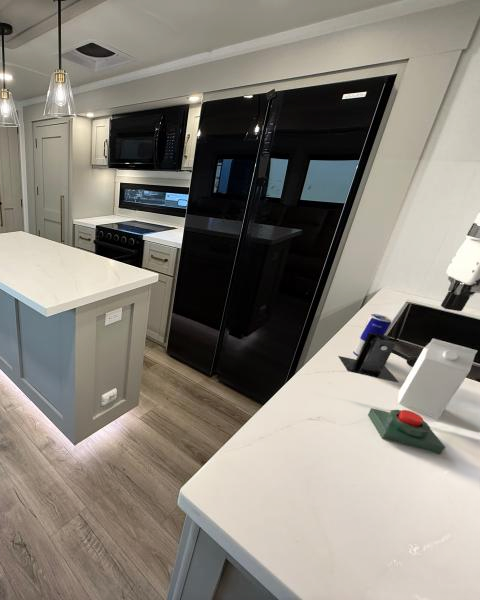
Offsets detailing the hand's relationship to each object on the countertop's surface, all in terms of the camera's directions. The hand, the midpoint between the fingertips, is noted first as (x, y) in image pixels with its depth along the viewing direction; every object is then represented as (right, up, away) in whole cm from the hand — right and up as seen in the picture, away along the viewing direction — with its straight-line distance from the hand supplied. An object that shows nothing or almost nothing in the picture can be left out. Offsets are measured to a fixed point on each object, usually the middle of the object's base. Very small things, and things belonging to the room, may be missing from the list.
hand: (450, 308), depth 76 cm
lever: (-1, -14, +14) cm, 20 cm away
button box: (-17, -29, -5) cm, 34 cm away
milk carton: (-5, -26, +4) cm, 27 cm away
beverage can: (+1, -17, +25) cm, 30 cm away
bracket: (-5, -20, +18) cm, 27 cm away
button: (-17, -25, -6) cm, 31 cm away
